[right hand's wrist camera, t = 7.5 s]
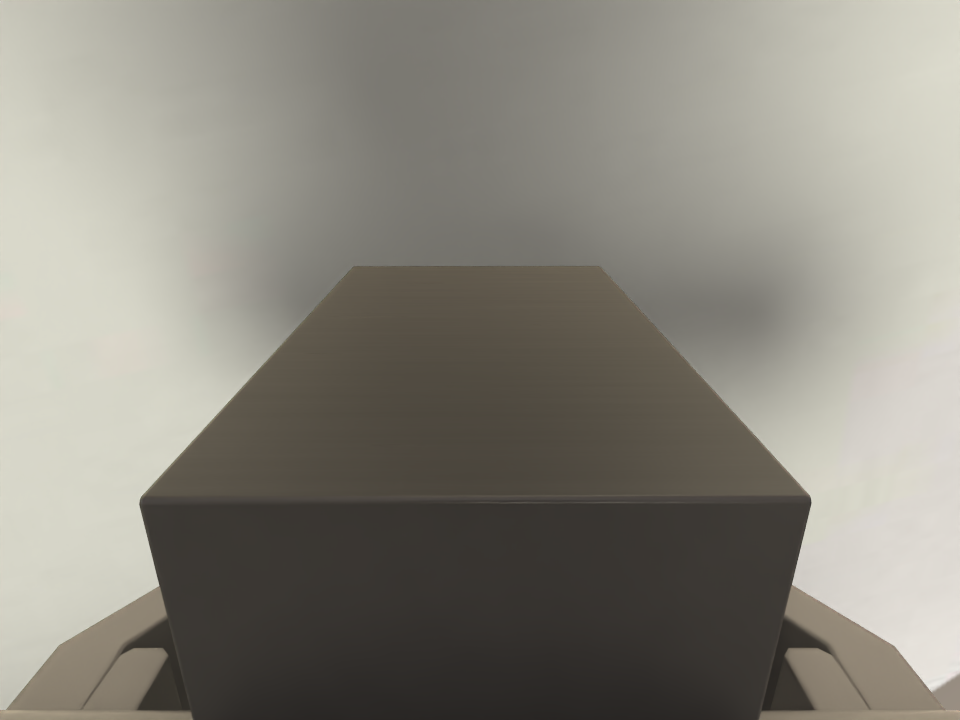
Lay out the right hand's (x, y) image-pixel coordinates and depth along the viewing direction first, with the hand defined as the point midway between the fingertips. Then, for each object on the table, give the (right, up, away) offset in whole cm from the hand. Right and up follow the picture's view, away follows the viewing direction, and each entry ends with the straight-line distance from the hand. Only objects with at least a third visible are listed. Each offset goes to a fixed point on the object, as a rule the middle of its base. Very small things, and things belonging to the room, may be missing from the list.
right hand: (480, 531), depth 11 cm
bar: (0, -7, +6) cm, 9 cm away
